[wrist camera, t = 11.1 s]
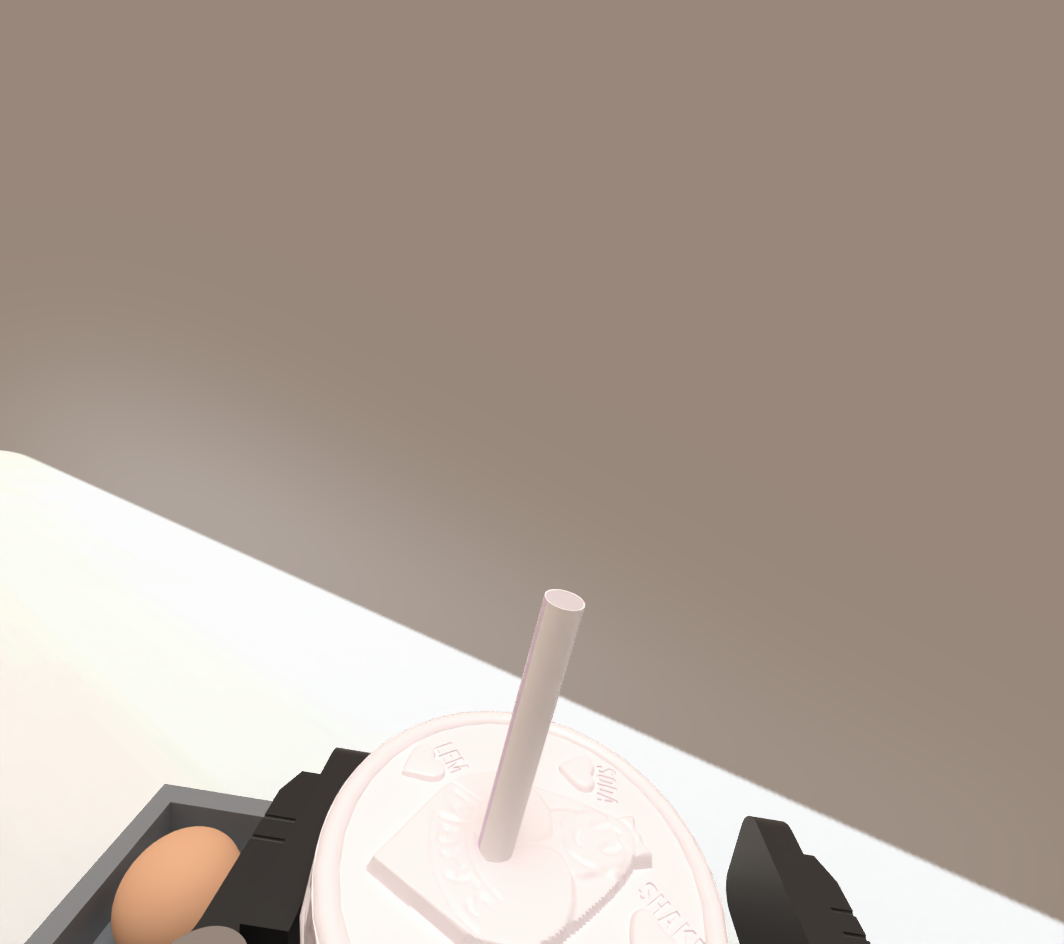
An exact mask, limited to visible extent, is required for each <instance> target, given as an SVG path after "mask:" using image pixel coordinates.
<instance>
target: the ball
mask: <svg viewBox="0 0 1064 944" xmlns="http://www.w3.org/2000/svg"><path fill="white" fill-rule="evenodd" d="M239 855H240V852H239V850H238V848H237V846H236V844H235V843H234V842H233V841H232V839H231V838H230V837H229V836H227V835H226V834H225V833H223V832H221V831H219V830H217V829H215V828H211V827H204V826H194V827H187V828H183V829H179V830H177V831H174V832H172V833H169V834H167V835H165V836H164V837H162V838H160V839H159V840H157V841H156V842H154V843H153V844H152V845H150V846H149V847H148V848H147V849H146V850H145V851H144V852H142V853H141V855H140V856H139V857H138V858H137V859H136V860H135V861H134V862H133V864H132V865H131V866H130V868H129V869H128V871H127V872H126V873H125V875H124V877H123V879H122V880H121V883H120V885H119V887H118V889H117V892H116V894H115V898H114V902H113V905H112V913H111V928H112V934H113V937H114V940H115V942H116V944H171V943H172V942H173V941H175V940H177V939H178V938H180V937H181V936H183V935H185V934H187V933H189V932H191V930H192V929H193V928H194V927H195V926H196V924H197V923H198V921H199V920H200V919H201V917H202V915H203V914H204V912H205V911H206V909H207V907H208V906H209V904H210V902H211V901H212V899H213V898H214V896H215V894H216V893H217V891H218V889H219V888H220V886H221V885H222V883H223V881H224V880H225V878H226V876H227V875H228V873H229V872H230V870H231V868H232V867H233V865H234V863H235V862H236V860H237V859H238V857H239Z"/></svg>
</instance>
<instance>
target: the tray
mask: <svg viewBox="0 0 1064 944" xmlns="http://www.w3.org/2000/svg"><path fill="white" fill-rule="evenodd" d="M271 803H272V801H266V800H260V799H254V798H248V797H242V796H236V795H229V794H223V793H217V792H211V791H205V790H199V789H193V788H187V787H180V786H174V785H168V784H164V786H163V787H162V788H161V789H160V790H159V791H158V792H157V794H156V795H155V796H154V797H153V798H152V799H151V800H150V802H149V803H148V804H147V805H146V806H145V807H144V808H143V809H142V811H141V812H140V813H139V814H138V815H137V816H136V817H135V819H134V820H133V821H132V822H131V823H130V824H129V825H128V826H127V828H126V829H125V830H124V831H123V832H122V833H121V834H120V836H119V837H118V838H117V839H116V840H115V841H114V842H113V844H112V845H111V846H110V847H109V848H108V849H107V850H106V851H105V853H104V854H103V855H102V856H101V857H100V858H99V859H98V861H97V862H96V863H95V864H94V865H93V866H92V867H91V869H90V870H89V871H88V872H87V873H86V874H85V875H84V876H83V878H82V879H81V880H80V881H79V882H78V883H77V884H76V886H75V887H74V888H73V889H72V890H71V891H70V892H69V893H68V895H67V896H66V897H65V898H64V899H63V900H62V901H61V903H60V904H59V905H58V906H57V907H56V908H55V909H54V911H53V912H52V913H51V914H50V915H49V916H48V917H47V918H46V920H45V921H44V922H43V923H42V924H41V925H40V926H39V928H38V929H37V930H36V931H35V932H34V933H33V934H32V935H31V937H30V938H29V939H28V940H27V941H26V942H25V943H24V944H116V942H115V940H114V937H113V934H112V928H111V913H112V905H113V902H114V898H115V894H116V892H117V889H118V887H119V885H120V883H121V880H122V879H123V877H124V875H125V873H126V872H127V871H128V869H129V868H130V866H131V865H132V864H133V862H134V861H135V860H136V859H137V858H138V857H139V856H140V855H141V853H142V852H144V851H145V850H146V849H147V848H148V847H149V846H150V845H152V844H153V843H154V842H156V841H157V840H159V839H160V838H162V837H164V836H165V835H167V834H169V833H172V832H174V831H177V830H179V829H183V828H187V827H194V826H204V827H211V828H215V829H217V830H219V831H221V832H223V833H225V834H226V835H227V836H229V837H230V838H231V839H232V841H233V842H234V843H235V844H236V846H237V848H238V850H239V852H240V854H241V852H242V850H243V849H244V847H245V846H246V844H247V842H248V841H249V839H251V838H252V835H253V833H254V831H255V829H256V828H257V826H258V824H259V823H260V821H261V820H262V819H263V818H264V816H265V813H266V811H267V810H268V808H269V807H270V805H271Z"/></svg>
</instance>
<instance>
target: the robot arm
mask: <svg viewBox="0 0 1064 944" xmlns="http://www.w3.org/2000/svg"><path fill="white" fill-rule="evenodd" d="M370 754H371V753H367V752H361V751H355V750H349V749H343V748H335V749H334V751H333V752H332V754H331V756H330V758H329V760H328V761H327V763H326V765H325V767H324V769H323V771H322V772H321V774H316V773H310V772H304V771H302V772H301V773H300V774H298V775H297V776H296V777H295V778H294V779H292V780H291V781H290V782H289V783H288V784H286V785H285V786H284V787H283V788H281V789H280V790H279V792H278V793H277V795H276V797H275V798H274V800H273V802H272V803H271V805H270V807H269V808H268V810H267V811H266V813H265V816H264V818H263V819H262V820H261V821H260V823H259V824H258V826H257V828H256V829H255V831H254V833H253V835H252V838H251V839H249V841H248V842H247V844H246V846H245V847H244V849H243V850H242V852H241V854H240V855H239V857H238V859H237V860H236V862H235V863H234V865H233V867H232V868H231V870H230V872H229V873H228V875H227V876H226V878H225V880H224V881H223V883H222V885H221V886H220V888H219V889H218V891H217V893H216V894H215V896H214V898H213V899H212V901H211V902H210V904H209V906H208V907H207V909H206V911H205V912H204V914H203V915H202V917H201V919H200V920H199V921H198V923H197V924H196V926H195V927H194V928H193V929H192V930H191V932H189V933H187V934H185V935H183V936H181V937H180V938H178V939H177V940H175V941H173V942H172V943H171V944H300V913H301V909H302V905H303V901H304V896H305V892H306V888H307V884H308V880H309V876H310V872H311V868H312V864H313V859H314V857H315V851H316V847H317V844H318V840H319V836H320V832H321V829H322V827H323V824H324V821H325V819H326V816H327V813H328V811H329V809H330V807H331V805H332V803H333V801H334V799H335V797H336V796H337V794H338V793H339V791H340V789H341V788H342V786H343V785H344V783H345V782H346V780H347V779H348V778H349V777H350V775H351V774H352V773H353V772H354V770H355V769H356V768H357V767H358V766H359V765H360V764H361V763H362V762H363V761H364V760H365V759H366V758H367V757H368V756H369V755H370ZM726 894H727V902H728V907H729V911H730V915H731V918H732V921H733V924H734V927H735V930H736V933H737V937H738V940H739V943H740V944H870V942H869V941H867V940H866V935H865V933H864V931H863V929H862V927H861V925H860V924H859V922H858V920H857V918H856V917H854V916H853V913H852V912H853V911H852V909H851V907H850V905H849V903H848V901H847V900H846V898H845V896H844V894H843V892H842V890H841V888H840V887H839V885H838V883H837V882H836V880H835V879H834V878H833V877H832V876H831V875H830V874H829V873H828V871H827V870H826V869H825V868H824V867H823V866H822V865H821V864H820V862H819V861H818V860H817V859H816V858H815V857H814V856H811V855H805V854H803V852H802V850H801V848H800V846H799V844H798V842H797V840H796V838H795V836H794V834H793V832H792V830H791V829H790V827H789V826H788V824H786V823H785V822H783V821H776V820H770V819H764V818H758V817H752V816H747V817H746V818H745V819H744V821H743V823H742V826H741V829H740V833H739V836H738V839H737V843H736V846H735V849H734V853H733V856H732V859H731V863H730V866H729V870H728V873H727V880H726Z"/></svg>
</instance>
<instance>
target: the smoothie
mask: <svg viewBox="0 0 1064 944" xmlns="http://www.w3.org/2000/svg"><path fill="white" fill-rule="evenodd" d="M584 607H585V603H584V601H583V600H582V599H581V598H580V597H579V596H577V595H575V594H573V593H571V592H568V591H564V590H560V589H552V590H548V591H547V592H545V595H544V599H543V602H542V606H541V610H540V613H539V617H538V621H537V625H536V628H535V632H534V635H533V639H532V643H531V647H530V650H529V654H528V658H527V662H526V665H525V669H524V672H523V676H522V680H521V684H520V687H519V691H518V695H517V698H516V702H515V706H514V709H513V713H509V712H495V711H480V712H466V713H457V714H453V715H448V716H443V717H440V718H435V719H432V720H429V721H426V722H424V723H421V724H418V725H416V726H414V727H411V728H409V729H407V730H405V731H403V732H401V733H400V734H398V735H396V736H394V737H393V738H391V739H390V740H388V741H387V742H385V743H384V744H382V745H381V746H380V747H378V748H377V749H376V750H375V751H374V752H372V753H371V754H370V755H369V756H368V757H367V758H366V759H365V760H364V761H363V762H362V763H361V764H360V765H359V766H358V767H357V768H356V769H355V770H354V772H353V773H352V774H351V775H350V777H349V778H348V779H347V780H346V782H345V783H344V785H343V786H342V788H341V789H340V791H339V793H338V794H337V796H336V797H335V799H334V801H333V803H332V805H331V807H330V809H329V811H328V813H327V816H326V819H325V821H324V824H323V827H322V829H321V832H320V836H319V840H318V844H317V847H316V851H315V857H314V859H313V864H312V868H311V872H310V876H309V880H308V884H307V888H306V892H305V896H304V901H303V905H302V909H301V913H300V944H729V936H728V929H727V924H726V918H725V913H724V909H723V906H722V902H721V898H720V895H719V891H718V889H717V886H716V883H715V881H714V878H713V875H712V873H711V870H710V868H709V866H708V864H707V862H706V859H705V857H704V855H703V853H702V851H701V850H700V848H699V846H698V844H697V842H696V841H695V839H694V837H693V835H692V834H691V832H690V831H689V829H688V828H687V826H686V825H685V823H684V822H683V820H682V819H681V818H680V816H679V815H678V814H677V812H676V811H675V809H674V808H673V806H672V805H671V804H670V803H669V802H668V801H667V800H666V799H665V798H664V796H663V795H662V794H661V793H660V792H659V791H658V790H657V789H656V788H655V787H654V785H653V784H652V783H651V782H650V781H649V780H648V779H647V778H645V777H644V776H643V775H642V774H641V773H640V772H638V771H637V770H636V769H635V768H634V767H633V766H631V765H630V764H629V763H628V762H627V761H626V760H624V759H623V758H621V757H620V756H618V755H617V754H615V753H614V752H612V751H611V750H609V749H608V748H606V747H605V746H603V745H602V744H600V743H599V742H597V741H595V740H593V739H591V738H589V737H587V736H585V735H583V734H581V733H579V732H577V731H575V730H573V729H571V728H568V727H565V726H562V725H560V724H557V723H554V722H551V720H552V717H553V713H554V710H555V706H556V703H557V700H558V696H559V693H560V689H561V686H562V682H563V679H564V676H565V672H566V669H567V665H568V662H569V658H570V655H571V652H572V648H573V645H574V641H575V638H576V635H577V631H578V628H579V624H580V621H581V617H582V614H583V611H584Z"/></svg>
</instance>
